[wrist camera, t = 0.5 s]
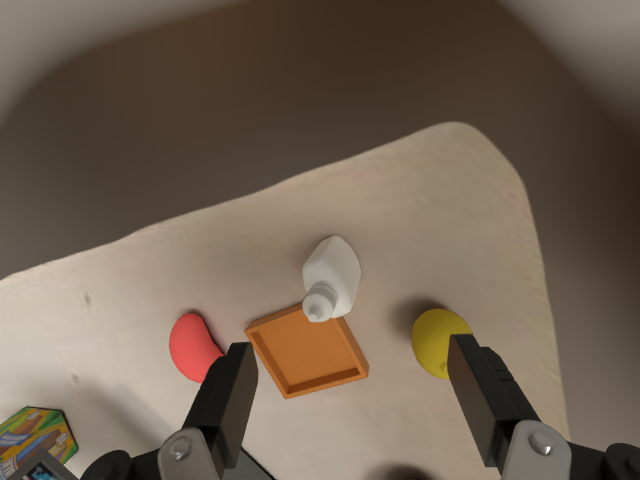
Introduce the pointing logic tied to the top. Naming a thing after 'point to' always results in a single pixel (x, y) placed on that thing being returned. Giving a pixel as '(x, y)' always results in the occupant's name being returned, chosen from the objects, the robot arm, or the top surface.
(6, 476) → the chalk box
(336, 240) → the eye dropper bottle
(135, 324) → the top surface
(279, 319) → the amber tray
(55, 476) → the computer monitor
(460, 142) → the top surface
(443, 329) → the lemon
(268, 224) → the top surface
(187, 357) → the red kidney bean shape
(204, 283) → the top surface
